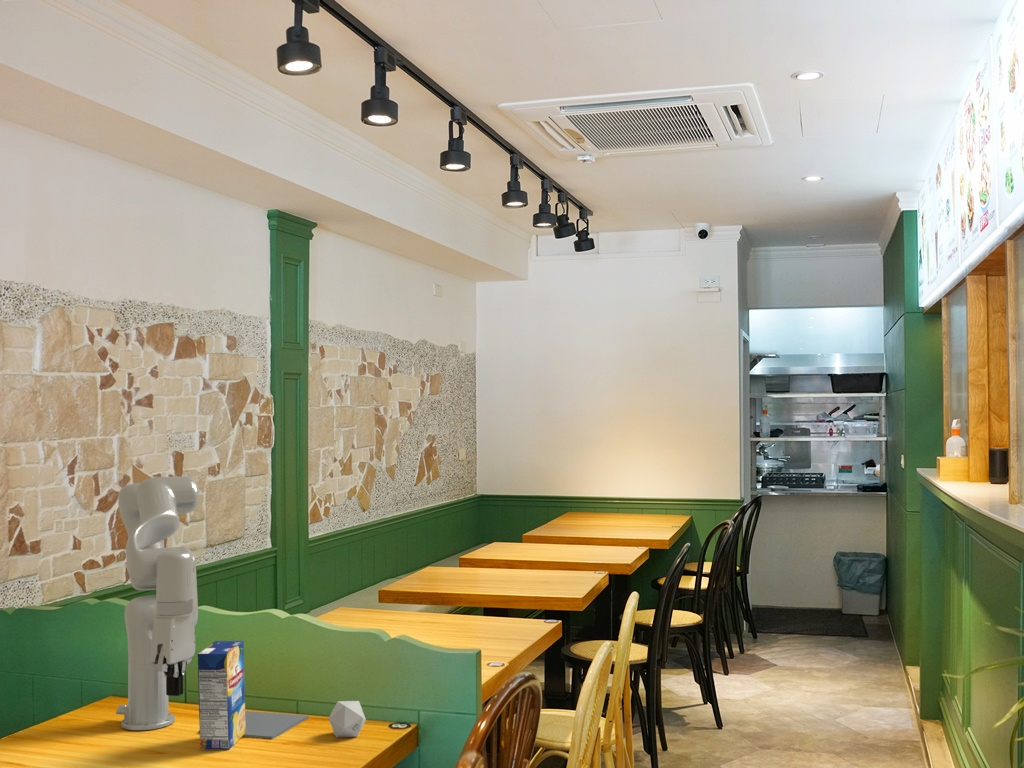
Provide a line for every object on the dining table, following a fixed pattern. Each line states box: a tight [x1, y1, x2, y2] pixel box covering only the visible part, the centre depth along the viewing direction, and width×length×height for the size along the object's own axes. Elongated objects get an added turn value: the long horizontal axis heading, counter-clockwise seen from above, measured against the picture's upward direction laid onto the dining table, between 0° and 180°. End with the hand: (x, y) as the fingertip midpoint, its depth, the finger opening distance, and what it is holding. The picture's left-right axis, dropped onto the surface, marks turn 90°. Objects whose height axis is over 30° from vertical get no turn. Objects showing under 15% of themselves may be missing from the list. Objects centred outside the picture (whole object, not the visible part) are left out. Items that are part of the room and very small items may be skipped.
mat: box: [198, 710, 309, 740], centre depth 246 cm, size 20×18×1 cm
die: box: [328, 700, 367, 738], centre depth 237 cm, size 8×9×10 cm
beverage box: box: [197, 640, 246, 751], centre depth 233 cm, size 7×11×22 cm, turn 175°
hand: (174, 694), depth 215 cm, fingers closed
